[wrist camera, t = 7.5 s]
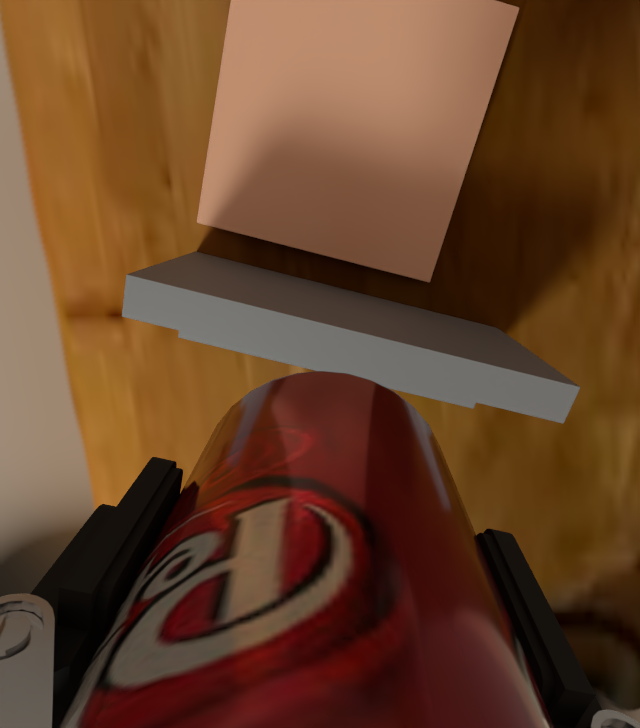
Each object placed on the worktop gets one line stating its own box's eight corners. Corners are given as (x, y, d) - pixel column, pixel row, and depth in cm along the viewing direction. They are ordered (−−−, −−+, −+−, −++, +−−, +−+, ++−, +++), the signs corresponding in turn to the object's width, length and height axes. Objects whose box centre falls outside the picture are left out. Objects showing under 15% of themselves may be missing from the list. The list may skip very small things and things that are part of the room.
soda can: (489, 444, 14) (1132, 1496, 3) (353, 594, 16) (388, 1511, 5) (285, 315, 13) (-103, 1192, 2) (170, 495, 15) (-337, 1396, 4)
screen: (196, 251, 32) (126, 274, 21) (497, 327, 33) (580, 387, 22) (183, 333, 34) (113, 393, 23) (468, 402, 35) (531, 490, 24)
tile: (245, -66, 26) (242, -76, 25) (512, 14, 27) (519, 7, 26) (200, 222, 31) (196, 222, 30) (426, 280, 32) (429, 282, 31)
